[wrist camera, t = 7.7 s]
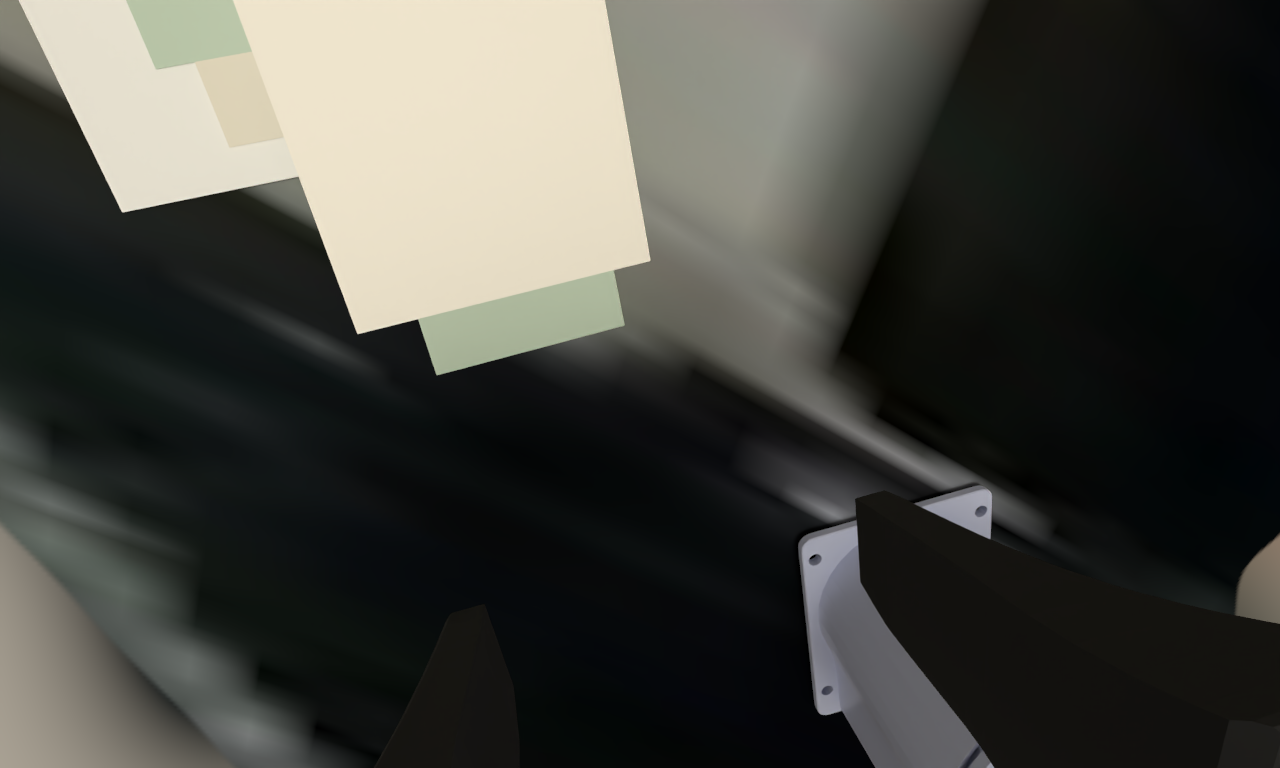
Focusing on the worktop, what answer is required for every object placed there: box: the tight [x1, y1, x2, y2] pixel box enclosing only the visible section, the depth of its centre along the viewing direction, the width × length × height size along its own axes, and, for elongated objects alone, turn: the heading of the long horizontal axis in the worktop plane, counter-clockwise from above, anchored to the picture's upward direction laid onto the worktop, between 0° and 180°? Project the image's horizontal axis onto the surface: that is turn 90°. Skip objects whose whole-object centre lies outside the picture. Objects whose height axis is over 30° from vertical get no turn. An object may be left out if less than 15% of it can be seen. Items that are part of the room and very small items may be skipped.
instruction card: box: [19, 0, 299, 212], centre depth 17 cm, size 6×8×1 cm
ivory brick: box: [233, 0, 651, 334], centre depth 12 cm, size 4×4×5 cm
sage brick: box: [418, 270, 625, 375], centre depth 16 cm, size 9×4×5 cm, turn 10°
